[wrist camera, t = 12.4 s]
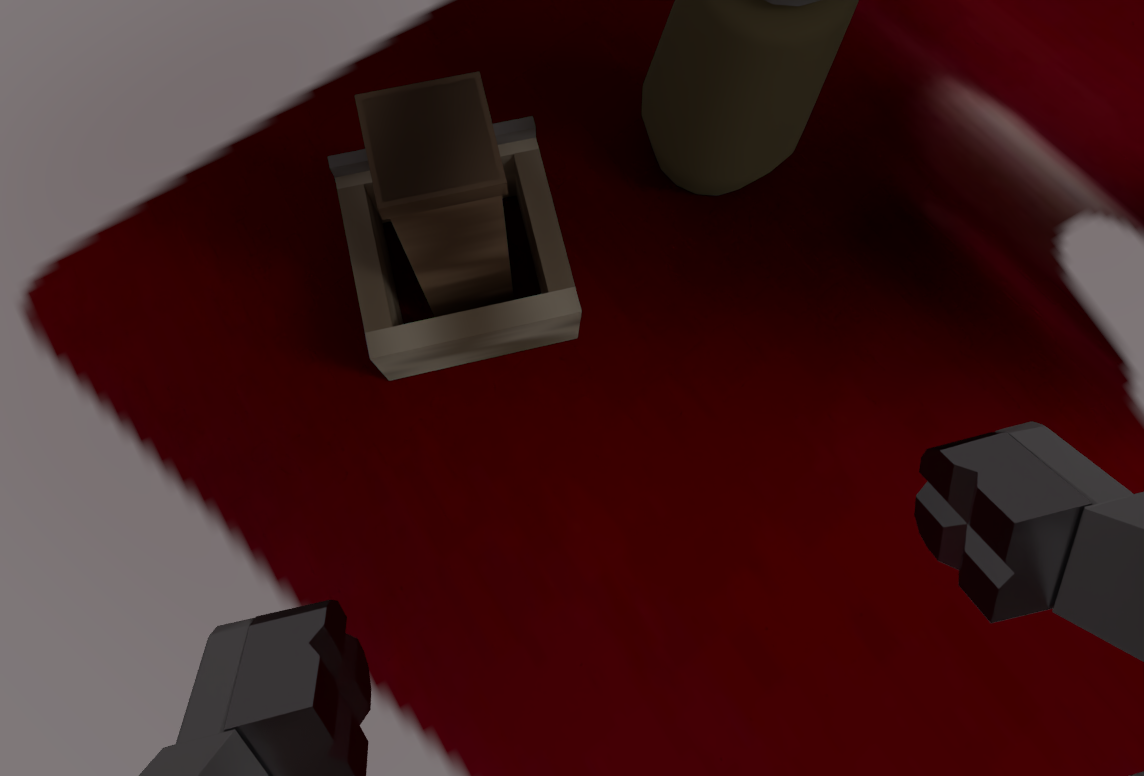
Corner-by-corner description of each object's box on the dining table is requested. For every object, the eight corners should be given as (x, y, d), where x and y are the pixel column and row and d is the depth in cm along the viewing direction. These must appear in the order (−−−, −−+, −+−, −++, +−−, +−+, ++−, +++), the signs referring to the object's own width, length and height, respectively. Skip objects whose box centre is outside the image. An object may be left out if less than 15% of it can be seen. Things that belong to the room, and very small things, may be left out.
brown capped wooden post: (499, 223, 37) (479, 71, 25) (518, 303, 36) (507, 182, 24) (414, 241, 37) (354, 95, 25) (431, 321, 36) (377, 209, 24)
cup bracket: (533, 170, 38) (532, 116, 33) (577, 338, 36) (582, 305, 31) (354, 206, 37) (327, 156, 32) (389, 380, 35) (365, 353, 30)
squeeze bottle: (603, 120, 39) (653, -240, 21) (729, 57, 40) (875, -334, 22) (683, 243, 37) (808, -34, 20) (811, 174, 38) (1036, -146, 21)
